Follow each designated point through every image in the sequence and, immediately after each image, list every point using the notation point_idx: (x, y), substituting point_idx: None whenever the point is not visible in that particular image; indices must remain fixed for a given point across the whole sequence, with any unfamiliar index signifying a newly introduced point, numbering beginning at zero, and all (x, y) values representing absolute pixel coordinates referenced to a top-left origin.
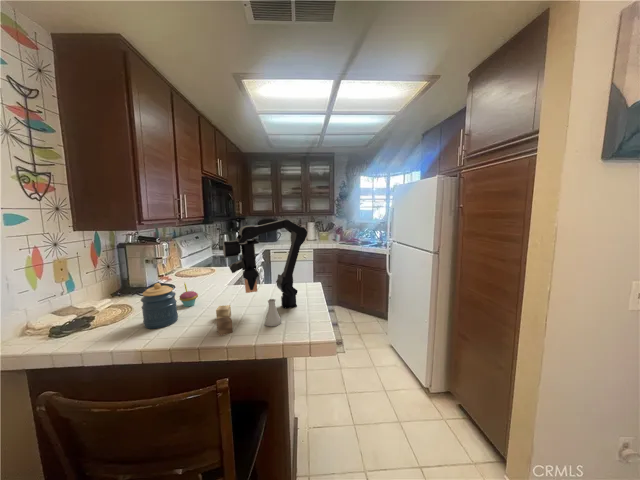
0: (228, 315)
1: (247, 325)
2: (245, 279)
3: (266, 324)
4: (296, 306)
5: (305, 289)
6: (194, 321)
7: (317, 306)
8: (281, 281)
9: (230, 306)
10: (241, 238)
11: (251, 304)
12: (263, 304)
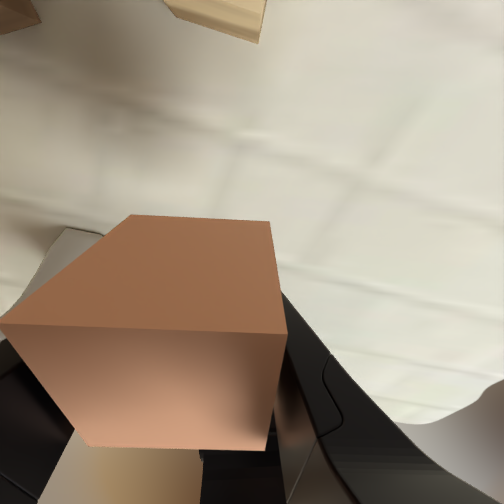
0: (167, 3)
1: (72, 148)
2: (247, 346)
3: (58, 237)
4: None
5: (390, 397)
6: None
7: None
8: (215, 470)
9: (258, 19)
10: None
11: (377, 201)
12: (333, 257)
